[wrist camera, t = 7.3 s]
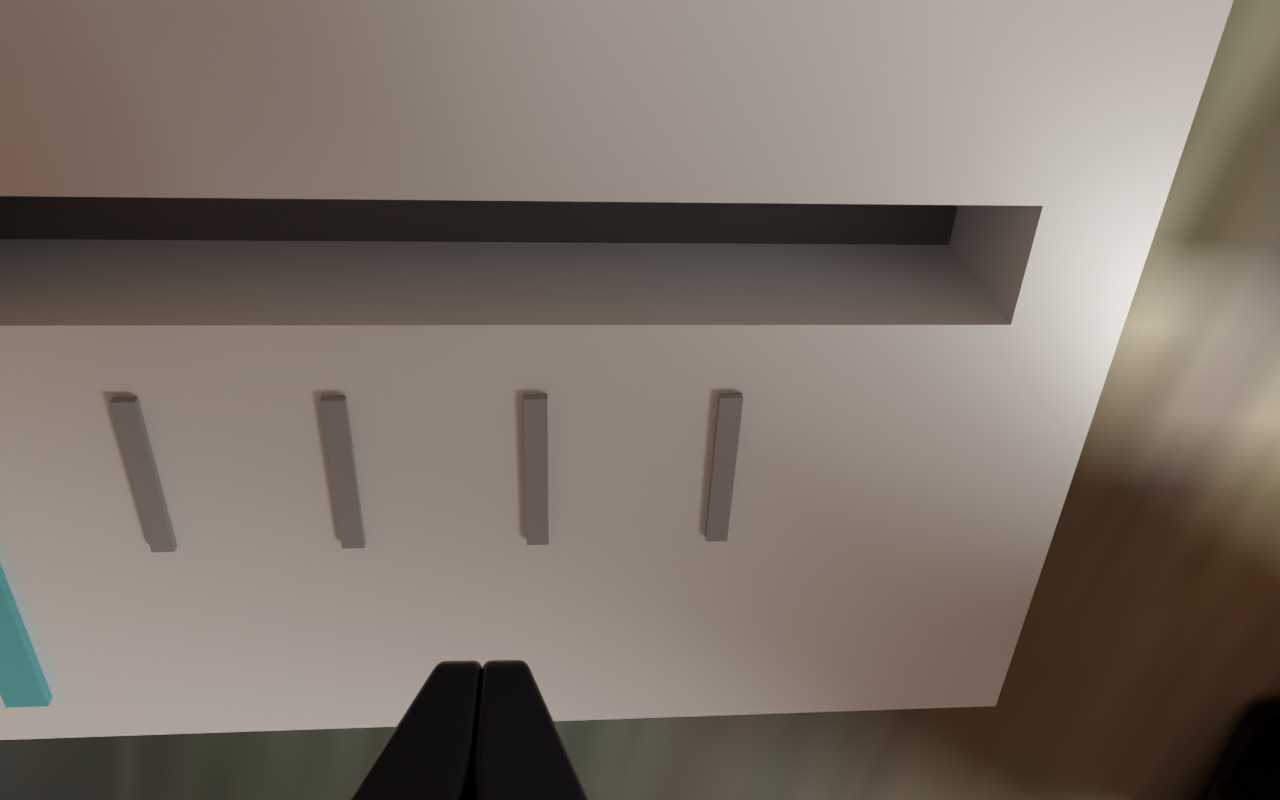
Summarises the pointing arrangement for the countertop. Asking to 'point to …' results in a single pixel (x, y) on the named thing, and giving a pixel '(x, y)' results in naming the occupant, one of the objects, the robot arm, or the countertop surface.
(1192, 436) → the countertop surface
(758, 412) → the console
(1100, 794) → the countertop surface
